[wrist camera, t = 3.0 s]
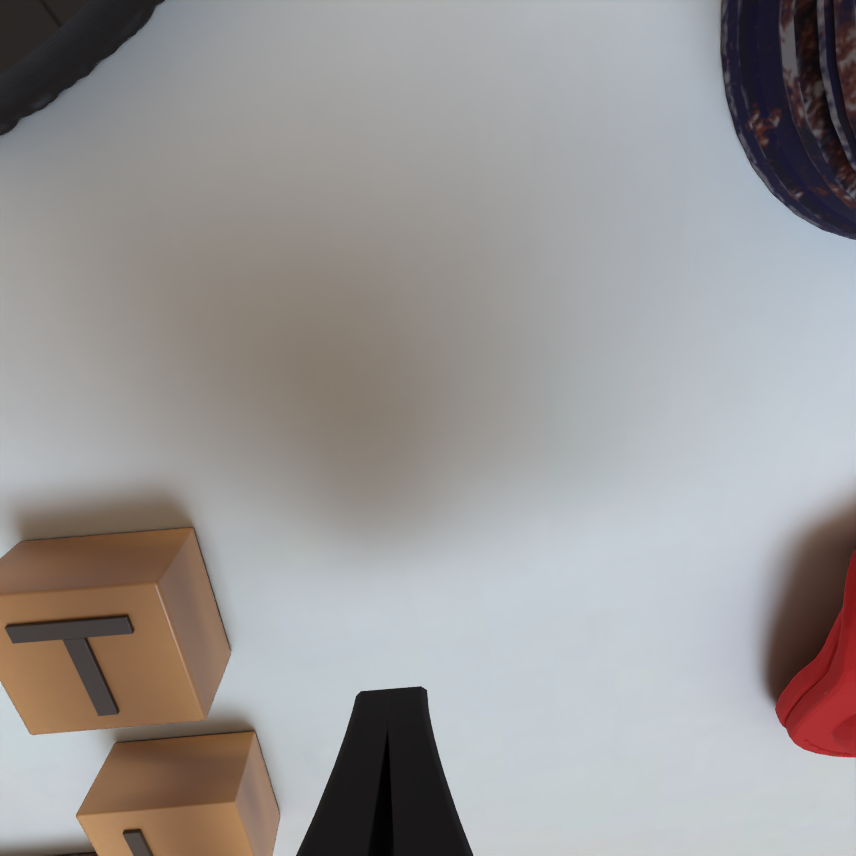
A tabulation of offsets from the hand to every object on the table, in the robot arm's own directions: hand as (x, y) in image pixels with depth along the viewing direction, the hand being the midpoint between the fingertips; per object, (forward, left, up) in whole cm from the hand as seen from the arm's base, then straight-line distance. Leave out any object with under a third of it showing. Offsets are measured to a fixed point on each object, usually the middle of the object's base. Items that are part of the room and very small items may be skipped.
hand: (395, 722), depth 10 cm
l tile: (-8, -8, -4) cm, 12 cm away
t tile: (-8, 0, -4) cm, 9 cm away
